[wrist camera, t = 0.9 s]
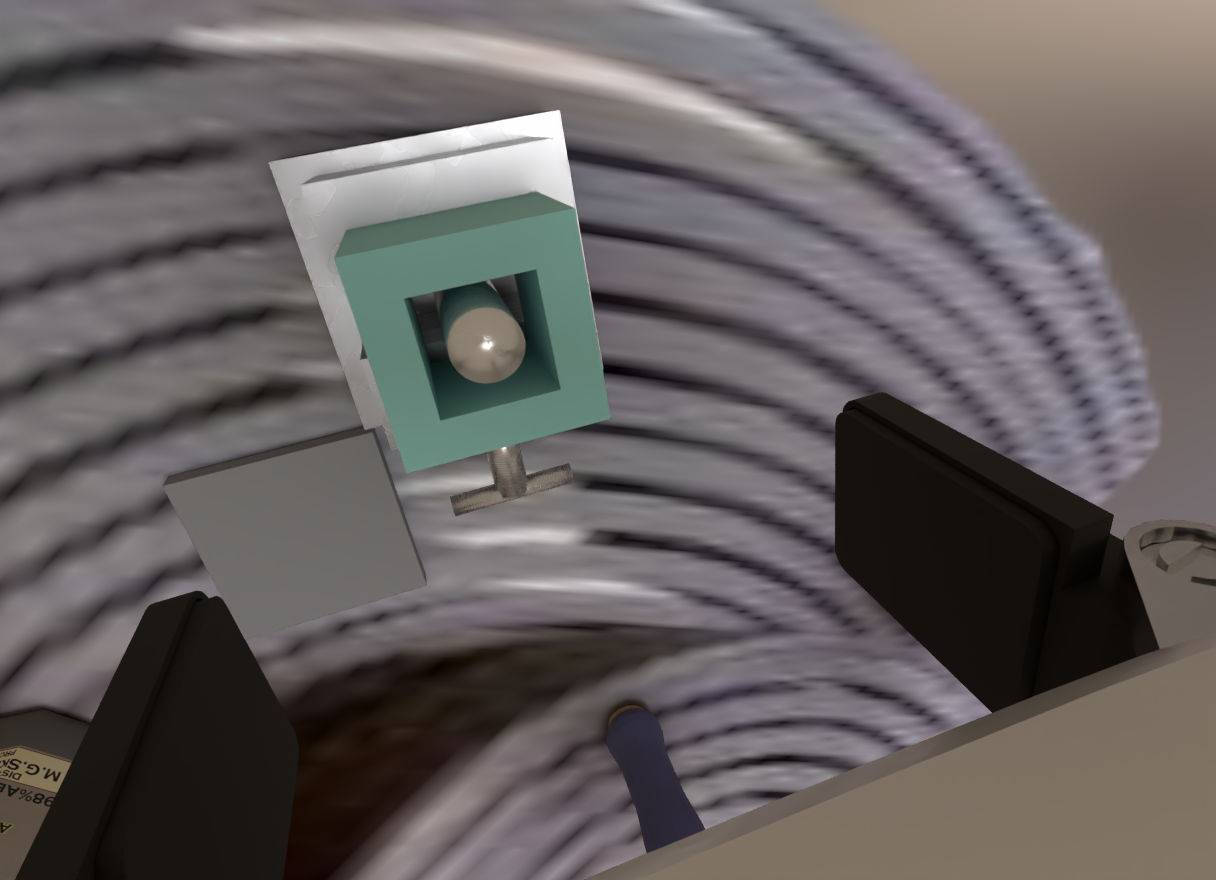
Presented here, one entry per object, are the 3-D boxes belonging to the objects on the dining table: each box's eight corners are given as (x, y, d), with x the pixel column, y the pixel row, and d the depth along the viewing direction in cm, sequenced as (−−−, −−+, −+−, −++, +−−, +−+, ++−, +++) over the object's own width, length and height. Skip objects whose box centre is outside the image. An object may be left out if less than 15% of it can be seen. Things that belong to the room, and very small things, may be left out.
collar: (570, 365, 28) (610, 418, 23) (403, 407, 27) (406, 473, 22) (536, 191, 25) (574, 208, 20) (346, 229, 24) (333, 258, 19)
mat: (425, 575, 40) (426, 585, 39) (248, 628, 38) (245, 640, 37) (372, 424, 35) (372, 432, 34) (168, 476, 33) (162, 486, 33)
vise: (602, 427, 39) (697, 563, 27) (393, 484, 37) (395, 660, 25) (545, 111, 32) (643, 100, 19) (279, 159, 29) (199, 180, 17)
